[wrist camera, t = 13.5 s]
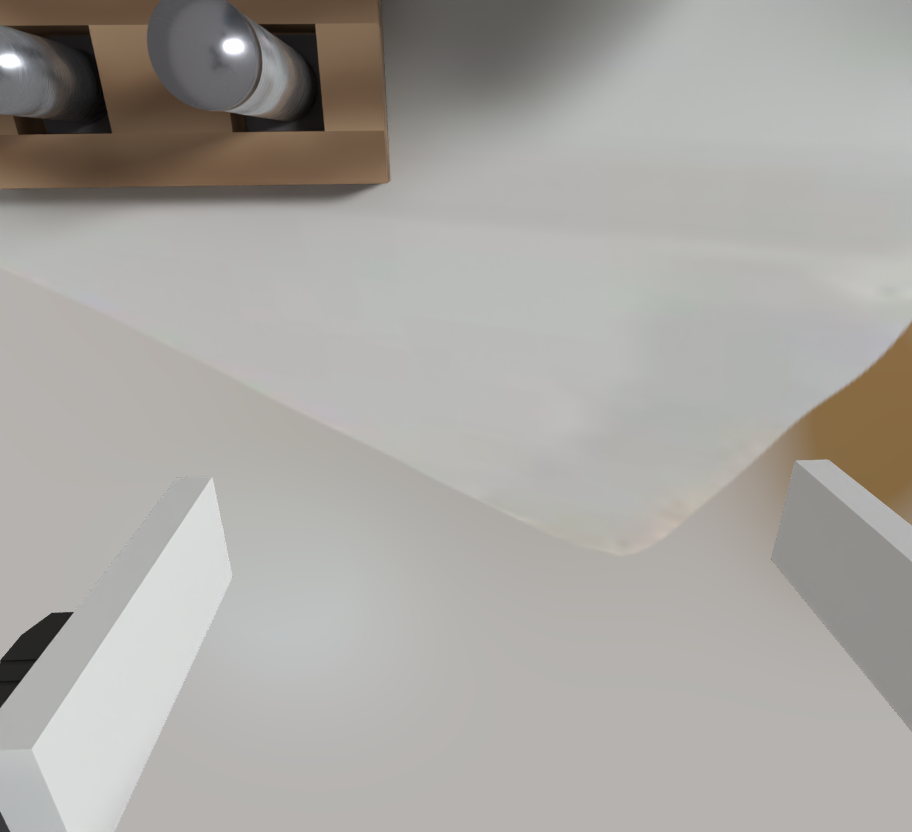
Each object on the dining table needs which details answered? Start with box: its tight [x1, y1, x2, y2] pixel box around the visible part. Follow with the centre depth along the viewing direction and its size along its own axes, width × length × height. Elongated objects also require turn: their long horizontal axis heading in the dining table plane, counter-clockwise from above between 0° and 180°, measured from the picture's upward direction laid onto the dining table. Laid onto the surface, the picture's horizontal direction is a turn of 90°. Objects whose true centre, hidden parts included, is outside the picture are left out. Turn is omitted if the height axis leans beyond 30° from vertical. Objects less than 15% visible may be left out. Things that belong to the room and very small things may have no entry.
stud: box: [147, 0, 317, 121], centre depth 27 cm, size 4×4×13 cm
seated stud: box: [0, 25, 107, 123], centre depth 29 cm, size 4×4×8 cm
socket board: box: [0, 0, 390, 189], centre depth 32 cm, size 10×22×3 cm, turn 91°
